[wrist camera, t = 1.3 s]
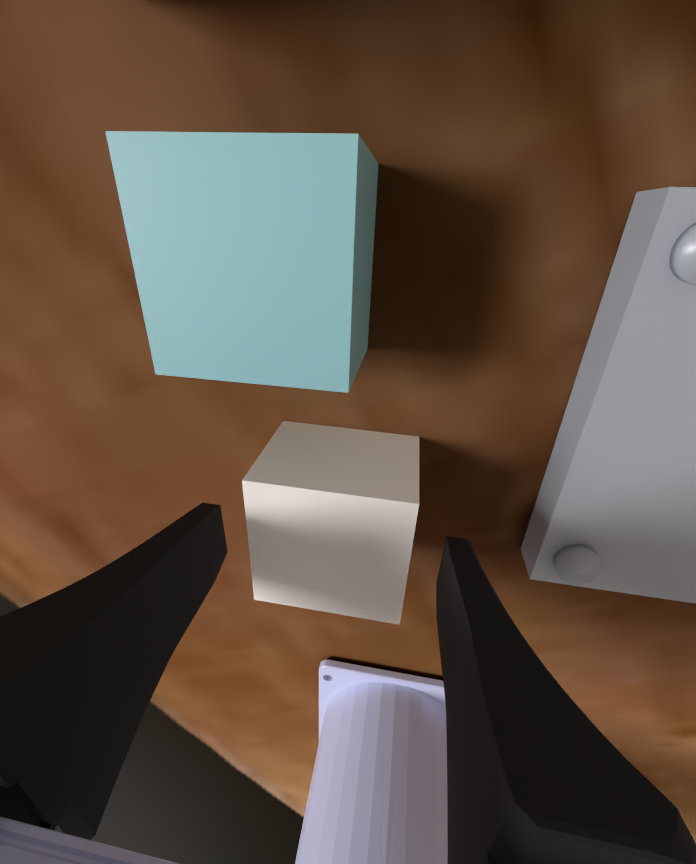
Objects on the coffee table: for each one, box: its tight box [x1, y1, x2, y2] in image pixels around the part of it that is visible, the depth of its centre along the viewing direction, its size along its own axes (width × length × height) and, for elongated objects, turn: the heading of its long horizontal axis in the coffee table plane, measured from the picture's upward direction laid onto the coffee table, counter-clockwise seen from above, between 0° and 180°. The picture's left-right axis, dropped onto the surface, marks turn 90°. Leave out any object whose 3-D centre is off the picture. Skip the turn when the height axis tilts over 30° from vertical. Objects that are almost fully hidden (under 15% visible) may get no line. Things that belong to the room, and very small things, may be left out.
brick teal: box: [106, 131, 379, 393], centre depth 10 cm, size 5×5×4 cm
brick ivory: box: [242, 421, 419, 625], centre depth 14 cm, size 5×5×4 cm
